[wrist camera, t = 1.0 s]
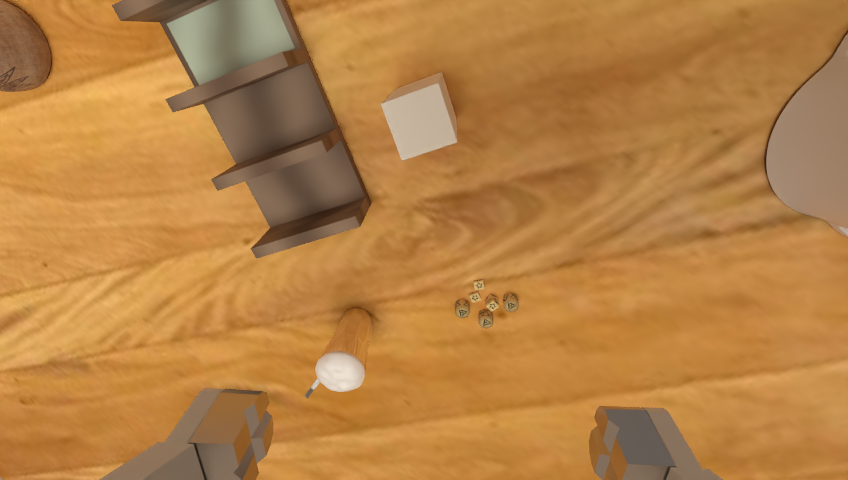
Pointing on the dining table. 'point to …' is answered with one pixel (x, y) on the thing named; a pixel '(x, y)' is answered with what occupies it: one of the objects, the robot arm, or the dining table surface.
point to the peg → (421, 116)
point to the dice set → (491, 303)
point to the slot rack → (264, 113)
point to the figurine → (21, 51)
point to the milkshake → (345, 354)
